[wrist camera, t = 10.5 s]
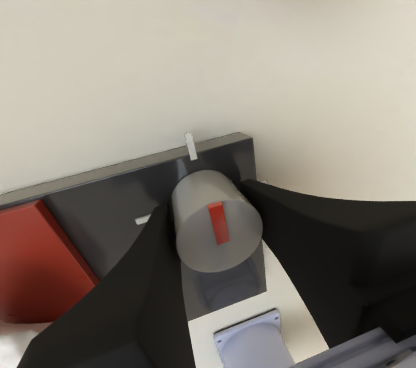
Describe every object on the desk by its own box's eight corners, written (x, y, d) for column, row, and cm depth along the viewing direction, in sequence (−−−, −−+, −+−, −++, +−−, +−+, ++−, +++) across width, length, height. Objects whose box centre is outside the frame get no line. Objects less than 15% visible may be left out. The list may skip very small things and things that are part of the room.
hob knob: (239, 217, 12) (269, 261, 9) (180, 236, 12) (189, 289, 9) (230, 161, 11) (264, 190, 7) (161, 180, 10) (163, 221, 7)
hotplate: (141, 338, 15) (140, 347, 15) (27, 381, 14) (22, 392, 14) (41, 198, 9) (34, 204, 9) (-172, 256, 8) (-195, 267, 8)
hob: (262, 271, 19) (274, 290, 17) (41, 352, 16) (25, 386, 14) (246, 111, 12) (263, 114, 10) (-143, 208, 9) (-221, 237, 7)
